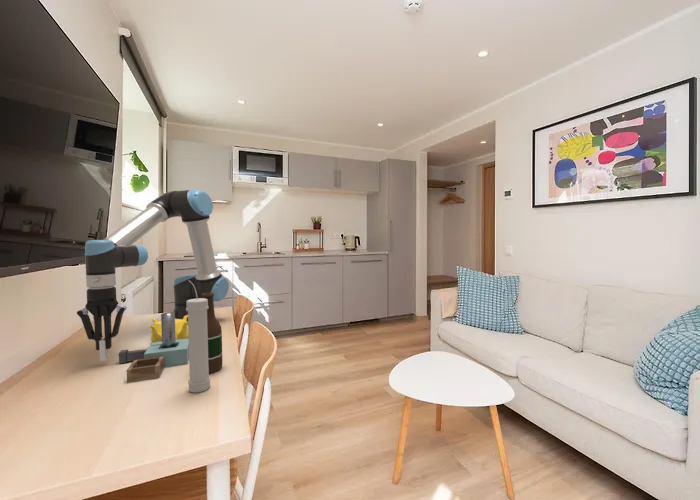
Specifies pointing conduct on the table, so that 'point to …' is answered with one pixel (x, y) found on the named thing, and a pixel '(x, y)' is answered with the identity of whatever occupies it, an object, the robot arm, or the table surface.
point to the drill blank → (168, 330)
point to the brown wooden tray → (145, 369)
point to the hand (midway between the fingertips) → (104, 358)
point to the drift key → (131, 355)
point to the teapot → (180, 329)
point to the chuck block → (170, 352)
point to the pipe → (198, 344)
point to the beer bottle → (213, 336)
